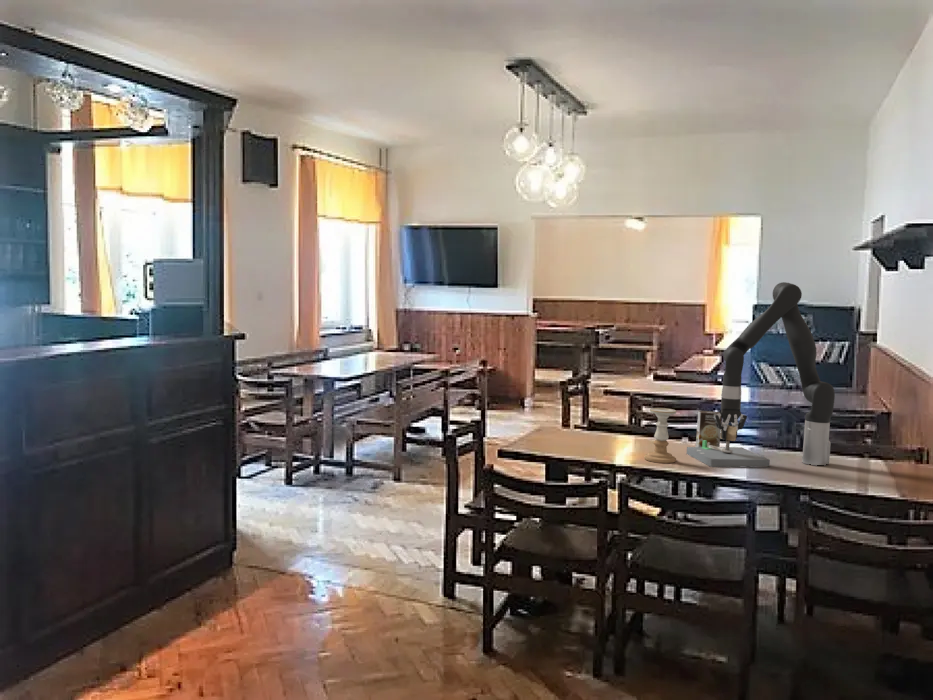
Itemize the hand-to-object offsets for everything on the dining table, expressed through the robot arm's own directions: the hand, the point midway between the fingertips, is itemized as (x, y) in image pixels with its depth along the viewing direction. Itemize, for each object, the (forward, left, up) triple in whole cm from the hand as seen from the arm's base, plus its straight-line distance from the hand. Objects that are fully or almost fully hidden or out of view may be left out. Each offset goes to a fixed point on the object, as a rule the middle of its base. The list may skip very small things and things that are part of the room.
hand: (728, 439), depth 346 cm
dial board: (0, 0, -9) cm, 9 cm away
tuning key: (+2, -3, -5) cm, 7 cm away
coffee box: (-2, -23, -9) cm, 25 cm away
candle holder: (+28, 0, -9) cm, 30 cm away
